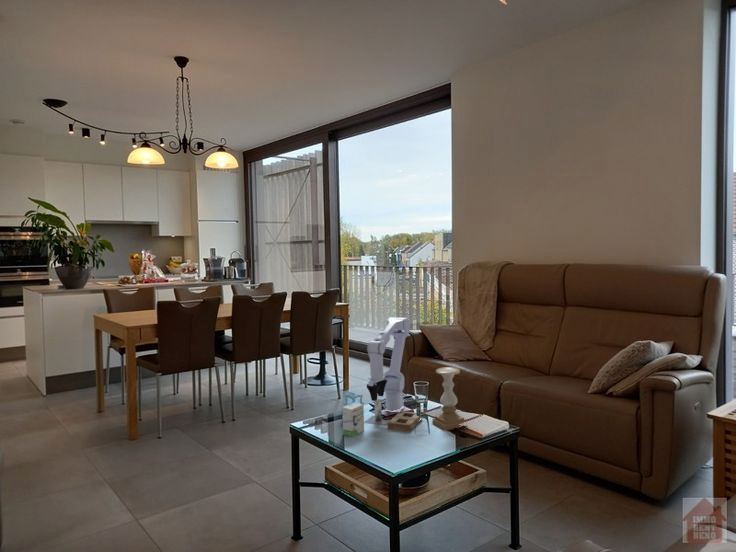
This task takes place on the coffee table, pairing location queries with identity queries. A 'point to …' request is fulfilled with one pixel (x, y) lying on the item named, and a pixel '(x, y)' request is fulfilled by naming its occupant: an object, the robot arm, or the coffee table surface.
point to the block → (403, 421)
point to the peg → (378, 410)
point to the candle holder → (448, 401)
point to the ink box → (353, 419)
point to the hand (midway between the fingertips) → (377, 398)
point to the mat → (372, 421)
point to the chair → (352, 396)
